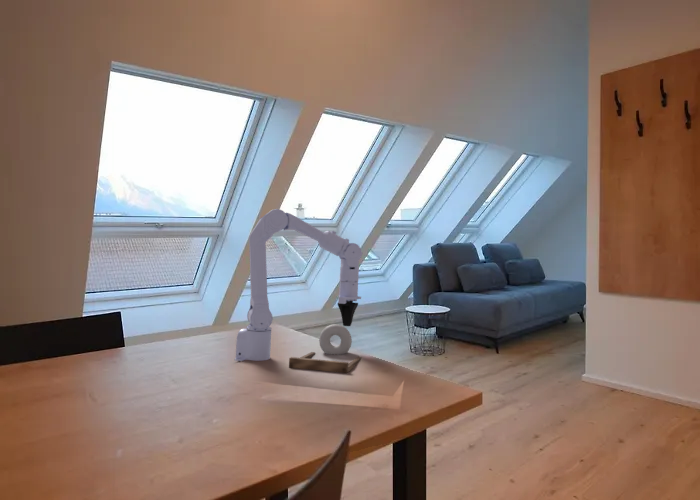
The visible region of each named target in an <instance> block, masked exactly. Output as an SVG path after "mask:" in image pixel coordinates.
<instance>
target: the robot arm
mask: <svg viewBox="0 0 700 500" xmlns="http://www.w3.org/2000/svg"><path fill="white" fill-rule="evenodd" d="M282 230H283V231H295V232H298V233H300V234H302V235H304V236H305V237H308V238H310V239H313V240H314V241H316V242H317V243H318V246H319V248H321V249H323V250H325V251H327V252H328V253H331V254H332V255H335V256H336V257H339V260H340V267H339V269H340V270H339V290H338V291H339V293H338V296H337V297H338V302H337V307H338V309H339V312H340V315H341V320H342V326H343V327H351V326H352V323H353V319H354V315H355V312H356V309H357V307H358V306H359V302H357V301H358V300H362V296H358V295H359V271H360V269H359V268H360V260H361V258H362V256H363V252H362V248H361V247H360V245H359V244H357V243H354V242H350V239H349V238H344V237H342V236H339V235H338V234H337V232H336V231H335V230H326V231H322V230H320V229H319V228H317V227H315V226H313V225H312V224H309V223H308V222H306V221H304V220H303V219H301V218H299V217H297V216H295V215H293V214H291V213H289V212H285V211H284V210H282V209H279V208H273V209H271V210H270V211H269V212H267V213H265V214H264V215H263V216H261V217H260V218H259V220H258V221H257V223H256V225H255V226H254V227H253V229H252V230H251V232H250V233H249V237H248V245H249V246H248V247H249V274H250V276H249V278H250V279H249V280H250V282H249V283H250V301H249V309H248V311H247V315H246V317H247V320H248V322H249V324H248V325H247V326H246V328H241V329H240V330H239V331H238V332H237V334H236V344H235V345H236V349H235V358H234V361H237V362H243V361H246V360H248V361H257V362H258V361H267V360H270V359H271V350H272V349H271V347H272V327H270V326H271V325H272V323H273V320H274V318H273V313H272V312H271V310H270V304H269V303H270V302H269V298H268V297H269V296H268V277H267V249H266V246H267V245H266V244H267V241H269V239H271V238H272V237H273V236H274V235H275V234H276V233H279V232H280V231H282Z"/></svg>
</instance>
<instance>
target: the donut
mask: <svg viewBox="0 0 700 500" xmlns="http://www.w3.org/2000/svg"><path fill="white" fill-rule="evenodd" d="M333 336H338V338H339V339H340V343H339V344H338V345H334V344H332V343H331V338H332V337H333ZM318 341H319V346H320V349H321V351H322V352H323V353H324V354H325V353H326V354H325V355H332V354H334V355H335V354H337V355H345V354H347V353H348V352H349V350H350V349H351V347H352V342H353V340H352V335H351V333H350V331H349V330H348V328H346V326H343V324H342V325H341V324H338V323H337V324H336V323H333V324H330V325H327V326H325V327H324V328H323V329H322V331H321V332H320V334H319V340H318ZM334 355H333V356H334Z"/></svg>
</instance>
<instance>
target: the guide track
mask: <svg viewBox="0 0 700 500" xmlns="http://www.w3.org/2000/svg"><path fill="white" fill-rule="evenodd" d="M315 354H316V352H313V351H311V352H309V353H307V354H305V355H302V356H301V357H295V356H290V357H289V360H288V361H289V362H288V368H291V369H292V368H293V369H299V370H300V369H302V370H311V371H320V372H321V371H322V372H330V373H331V372H332V373H333V372H334V373H342V374H348V373H349V372H350V371H351V370H353V369H354V368H355V366H356V365H357V364H358V363H359V362H360V360H361V359H362V358H363V357H362V356H357V357H356V358H354V359H353V360H351V361H350V362H348V361H347V362H345V361H337V360H328V359H327V360H326V359H318V358H317V359H316V358H315V359H314V358H313V356H314V355H315Z"/></svg>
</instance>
